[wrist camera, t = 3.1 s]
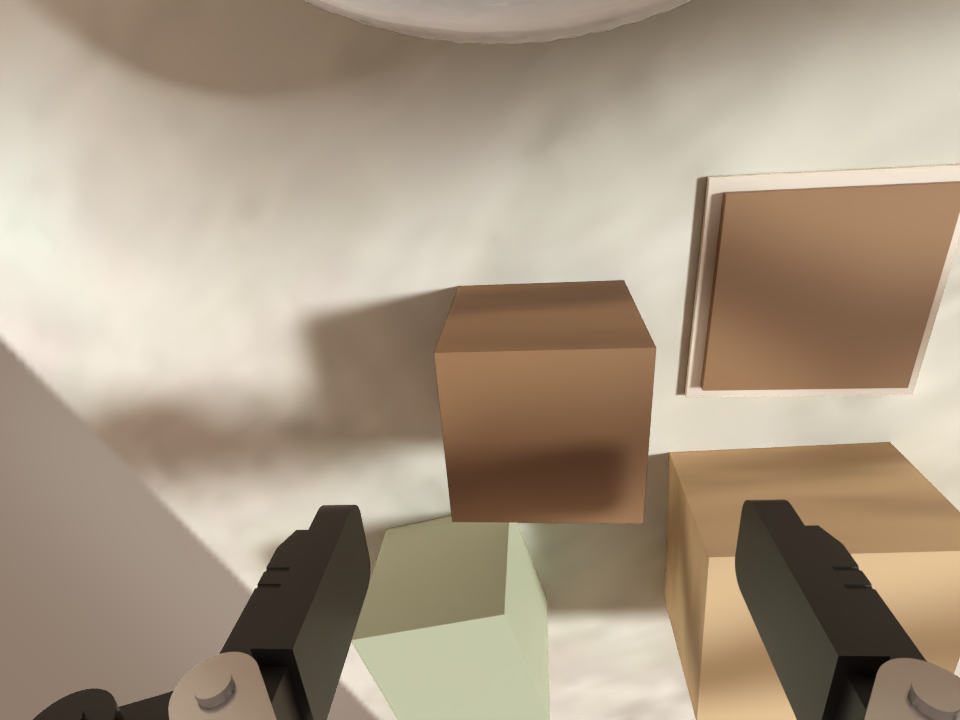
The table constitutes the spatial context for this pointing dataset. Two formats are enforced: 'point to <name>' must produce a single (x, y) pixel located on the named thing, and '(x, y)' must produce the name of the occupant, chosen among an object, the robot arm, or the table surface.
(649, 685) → the table surface
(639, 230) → the table surface
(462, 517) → the walnut cube
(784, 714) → the oak base block
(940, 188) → the walnut swatch
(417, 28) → the cereal bowl
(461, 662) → the sage cube
